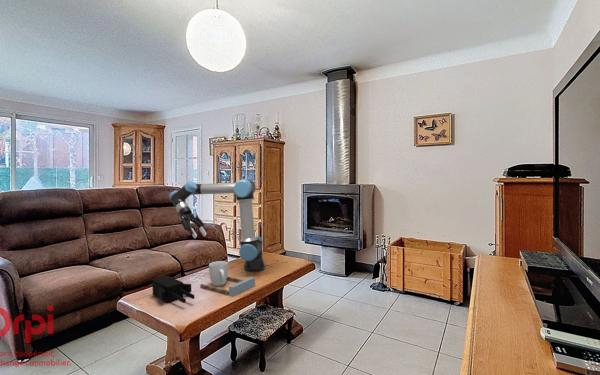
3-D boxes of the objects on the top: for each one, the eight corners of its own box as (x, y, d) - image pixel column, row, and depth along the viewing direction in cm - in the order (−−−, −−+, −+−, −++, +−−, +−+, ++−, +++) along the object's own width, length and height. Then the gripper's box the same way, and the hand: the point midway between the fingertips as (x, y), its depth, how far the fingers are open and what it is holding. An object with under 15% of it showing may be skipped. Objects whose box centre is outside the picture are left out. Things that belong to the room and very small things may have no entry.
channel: (200, 288, 176) (200, 284, 176) (224, 278, 192) (223, 275, 192) (228, 295, 164) (227, 291, 164) (250, 284, 180) (250, 281, 180)
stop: (229, 295, 164) (228, 286, 164) (251, 285, 180) (251, 277, 179) (233, 296, 162) (232, 287, 162) (254, 286, 178) (254, 277, 178)
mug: (232, 286, 177) (232, 265, 177) (214, 290, 171) (214, 268, 171) (224, 280, 190) (224, 260, 189) (207, 283, 184) (206, 262, 183)
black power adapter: (204, 303, 157) (174, 289, 175) (204, 286, 156) (174, 273, 175) (174, 314, 144) (146, 297, 162) (174, 295, 143) (146, 281, 162)
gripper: (193, 212, 208) (210, 237, 200) (168, 215, 191) (185, 242, 183) (198, 205, 205) (215, 230, 197) (173, 207, 188) (190, 235, 180)
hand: (200, 236), depth 190 cm, fingers open, 7 cm apart
